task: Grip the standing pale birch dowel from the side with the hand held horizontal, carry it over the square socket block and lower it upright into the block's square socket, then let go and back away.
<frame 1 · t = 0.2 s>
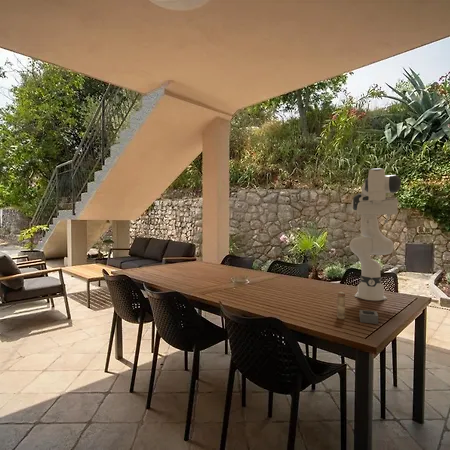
hand: (376, 223, 176), 49 cm above the table, tool pointing down, fingers open, 8 cm apart
square socket block: (368, 320, 162), on the table
dowel: (341, 317, 166), on the table
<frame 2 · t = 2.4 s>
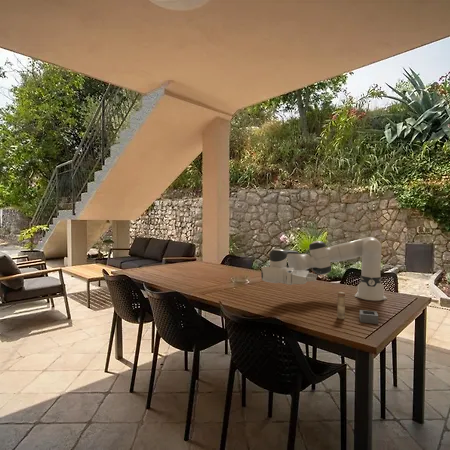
hand: (316, 277, 170), 20 cm above the table, tool horizontal, fingers open, 8 cm apart
nothing on the table moved.
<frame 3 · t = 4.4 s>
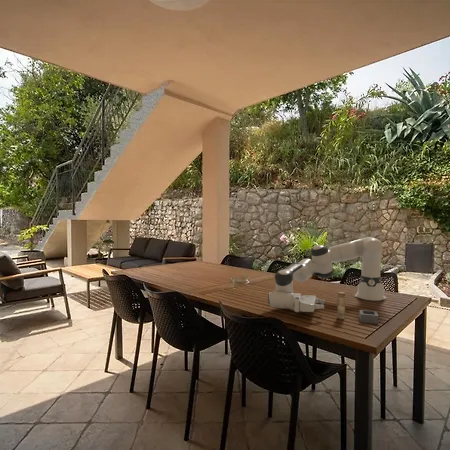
hand: (324, 304, 168), 6 cm above the table, tool horizontal, fingers open, 8 cm apart
nothing on the table moved.
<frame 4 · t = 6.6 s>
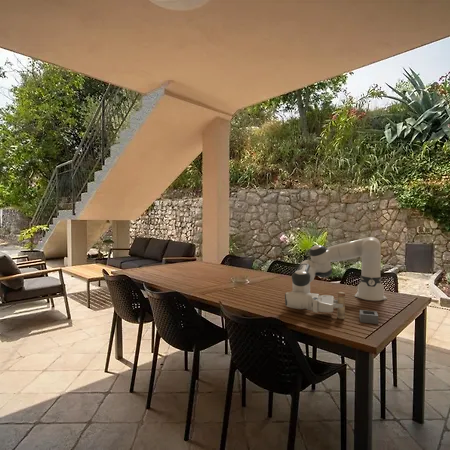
hand: (343, 304, 166), 7 cm above the table, tool horizontal, fingers closed on dowel, 4 cm apart
dowel: (341, 317, 166), on the table, touching gripper
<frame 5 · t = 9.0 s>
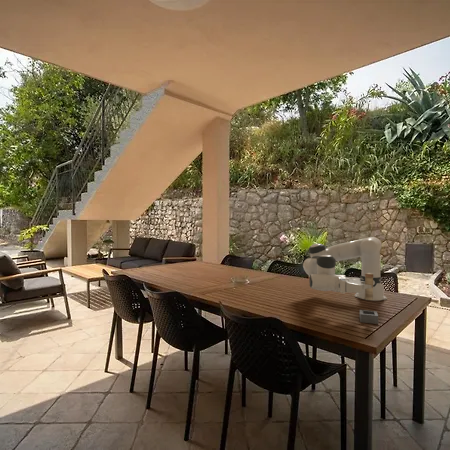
hand: (371, 285, 161), 18 cm above the table, tool horizontal, fingers closed on dowel, 4 cm apart
dowel: (368, 299, 161), point 11 cm above the table, touching gripper
when the fingers open (9 cm above the table, at t = 11.3 s): dowel stays where it is, resting on square socket block.
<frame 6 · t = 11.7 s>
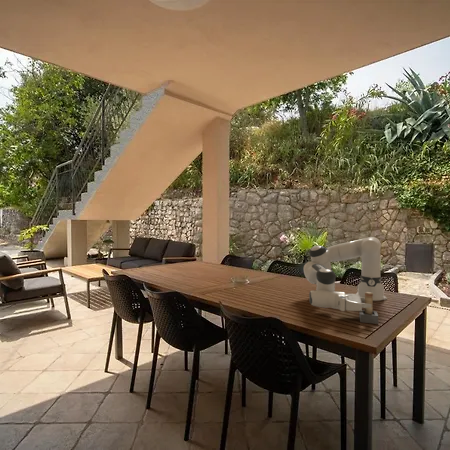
hand: (370, 303, 161), 9 cm above the table, tool horizontal, fingers open, 8 cm apart
dowel: (368, 318, 162), point 1 cm above the table, touching square socket block
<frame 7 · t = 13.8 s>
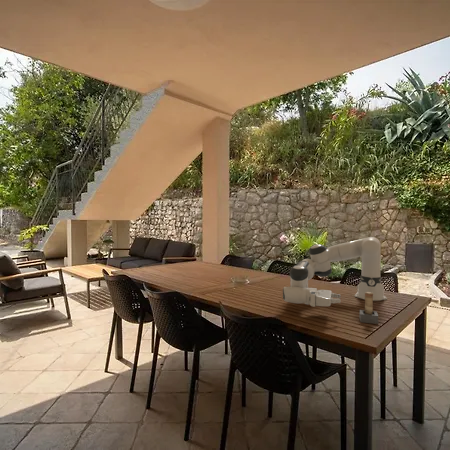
hand: (340, 298, 166), 10 cm above the table, tool horizontal, fingers open, 8 cm apart
nothing on the table moved.
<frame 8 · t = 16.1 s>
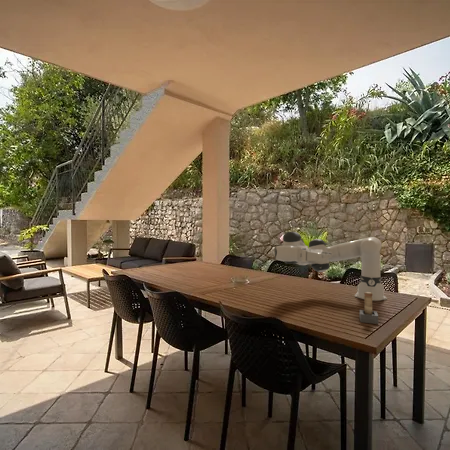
hand: (331, 255, 169), 32 cm above the table, tool horizontal, fingers open, 8 cm apart
nothing on the table moved.
at the end: dowel 0.1 cm off-centre on the square socket block, point 1.0 cm above the square socket block's base; dowel tilted 1°; the gripper is holding nothing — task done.
